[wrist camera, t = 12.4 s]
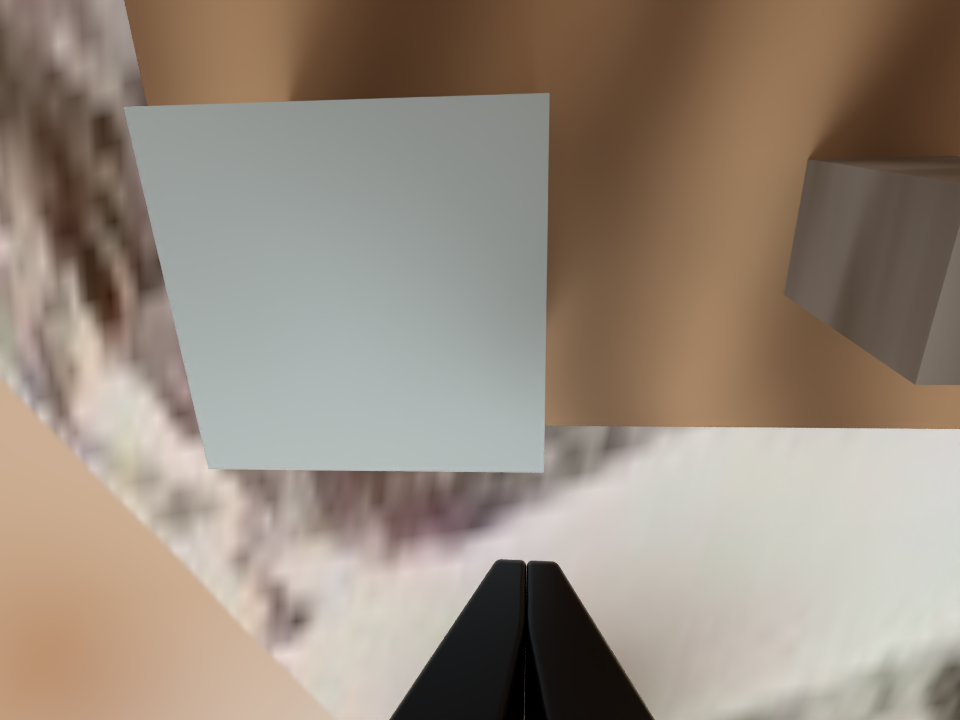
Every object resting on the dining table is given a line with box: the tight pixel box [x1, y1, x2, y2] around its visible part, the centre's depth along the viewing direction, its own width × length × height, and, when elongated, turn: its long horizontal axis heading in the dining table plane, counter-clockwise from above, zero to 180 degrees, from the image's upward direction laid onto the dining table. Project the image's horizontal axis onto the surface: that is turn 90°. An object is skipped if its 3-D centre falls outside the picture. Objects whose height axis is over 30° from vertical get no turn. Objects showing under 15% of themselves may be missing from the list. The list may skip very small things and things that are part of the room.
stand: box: [124, 0, 960, 429], centre depth 14 cm, size 26×12×8 cm, turn 92°
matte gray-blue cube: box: [124, 93, 550, 473], centre depth 13 cm, size 6×6×7 cm
